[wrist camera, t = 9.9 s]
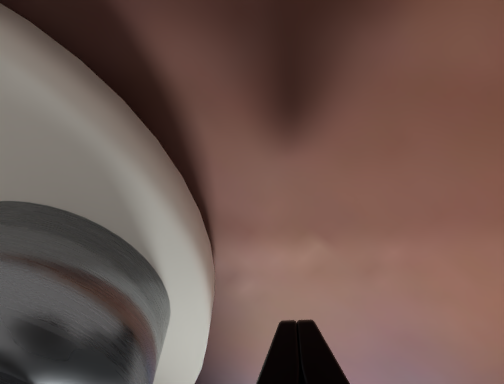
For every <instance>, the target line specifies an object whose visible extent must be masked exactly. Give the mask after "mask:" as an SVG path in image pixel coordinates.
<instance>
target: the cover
mask: <svg viewBox="0 0 504 384" xmlns="http://www.w3.org/2000/svg"><path fill="white" fill-rule="evenodd" d="M170 313H171V311H170V301H169V298H168V294H167V291H166V289H165V286H164V284H163V282H162V280H161V278H160V277H159V275H158V274H157V272H156V271H155V269H154V268H153V267H152V266H151V264H150V263H149V262H148V261H147V260H146V259H145V257H144V256H142V255H141V254H140V253H139V252H138V251H137V250H136V249H135V248H134V247H133V246H131V245H130V244H129V243H127V242H126V241H125V240H123V239H122V238H121V237H119V236H118V235H116V234H115V233H113V232H111V231H110V230H108V229H106V228H105V227H103V226H101V225H99V224H97V223H95V222H93V221H91V220H89V219H87V218H85V217H82V216H79V215H77V214H74V213H71V212H69V211H66V210H62V209H58V208H55V207H51V206H47V205H42V204H36V203H31V202H20V201H0V384H153V381H154V378H155V374H156V370H157V367H158V363H159V359H160V355H161V352H162V348H163V344H164V340H165V337H166V333H167V329H168V326H169V321H170Z"/></svg>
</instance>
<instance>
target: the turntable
mask: <svg viewBox="0 0 504 384" xmlns="http://www.w3.org/2000/svg"><path fill="white" fill-rule="evenodd" d="M0 201H20V202H31V203H36V204H42V205H47V206H51V207H55V208H58V209H62V210H66V211H69V212H71V213H74V214H77V215H79V216H82V217H85V218H87V219H89V220H91V221H93V222H95V223H97V224H99V225H101V226H103V227H105V228H106V229H108V230H110V231H111V232H113V233H115V234H116V235H118V236H119V237H121V238H122V239H123V240H125V241H126V242H127V243H129V244H130V245H131V246H133V247H134V248H135V249H136V250H137V251H138V252H139V253H140V254H141V255H142V256H144V257H145V259H146V260H147V261H148V262H149V263H150V264H151V266H152V267H153V268H154V269H155V271H156V272H157V274H158V275H159V277H160V278H161V280H162V282H163V284H164V286H165V289H166V291H167V294H168V298H169V301H170V311H171V313H170V321H169V326H168V329H167V333H166V337H165V340H164V344H163V348H162V352H161V355H160V359H159V363H158V367H157V370H156V374H155V378H154V381H153V384H195V382H196V380H197V377H198V375H199V373H200V371H201V369H202V365H203V361H204V356H205V352H206V347H207V341H208V335H209V328H210V322H211V316H212V309H213V303H214V293H215V269H214V263H213V257H212V251H211V244H210V241H209V238H208V235H207V232H206V229H205V226H204V223H203V220H202V217H201V214H200V211H199V209H198V207H197V205H196V203H195V201H194V199H193V197H192V195H191V193H190V191H189V189H188V187H187V185H186V183H185V181H184V179H183V177H182V175H181V174H180V172H179V171H178V169H177V168H176V167H175V165H174V164H173V162H172V161H171V159H170V158H169V156H168V155H167V153H166V152H165V150H164V149H163V147H162V146H161V144H160V143H159V141H158V140H157V139H156V137H155V136H154V135H153V134H152V133H151V132H150V130H149V129H148V128H147V127H146V126H145V125H144V123H143V122H142V121H141V120H140V119H139V118H138V117H137V115H136V114H135V113H134V112H133V111H132V110H131V108H130V107H129V106H128V105H127V104H126V103H125V101H124V100H123V99H122V98H121V97H120V96H118V95H117V94H116V93H115V92H114V91H113V90H112V89H111V88H110V87H109V86H108V85H107V84H106V83H105V82H104V81H102V80H101V79H100V78H99V77H98V76H97V75H96V74H95V73H94V72H93V71H92V70H91V69H90V68H89V67H87V66H86V65H85V64H84V63H83V62H82V61H81V60H80V59H78V58H77V57H76V56H75V55H73V54H72V53H71V52H69V51H68V50H67V49H65V48H64V47H63V46H61V45H60V44H59V43H57V42H56V41H55V40H54V39H52V38H51V37H50V36H48V35H47V34H46V33H44V32H43V31H42V30H40V29H39V28H38V27H36V26H35V25H34V24H33V23H31V22H30V21H28V20H27V19H25V18H23V17H22V16H20V15H18V14H17V13H15V12H14V11H12V10H10V9H9V8H7V7H5V6H4V5H2V4H1V3H0Z"/></svg>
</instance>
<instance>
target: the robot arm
mask: <svg viewBox="0 0 504 384" xmlns="http://www.w3.org/2000/svg"><path fill="white" fill-rule="evenodd" d="M256 384H350V383H349V381H348V380H347V378H346V376H345V374H344V373H343V371H342V369H341V367H340V366H339V364H338V362H337V360H336V359H335V357H334V355H333V353H332V352H331V350H330V348H329V346H328V345H327V343H326V341H325V339H324V338H323V336H322V334H321V332H320V331H319V329H318V327H317V325H316V324H315V322H314V321H313V320H298V321H297V323H296V321H294V320H286V321H281V322H280V323H279V325H278V328H277V330H276V333H275V335H274V338H273V341H272V343H271V346H270V349H269V351H268V354H267V356H266V359H265V362H264V364H263V367H262V370H261V372H260V375H259V377H258V380H257V383H256Z"/></svg>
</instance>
